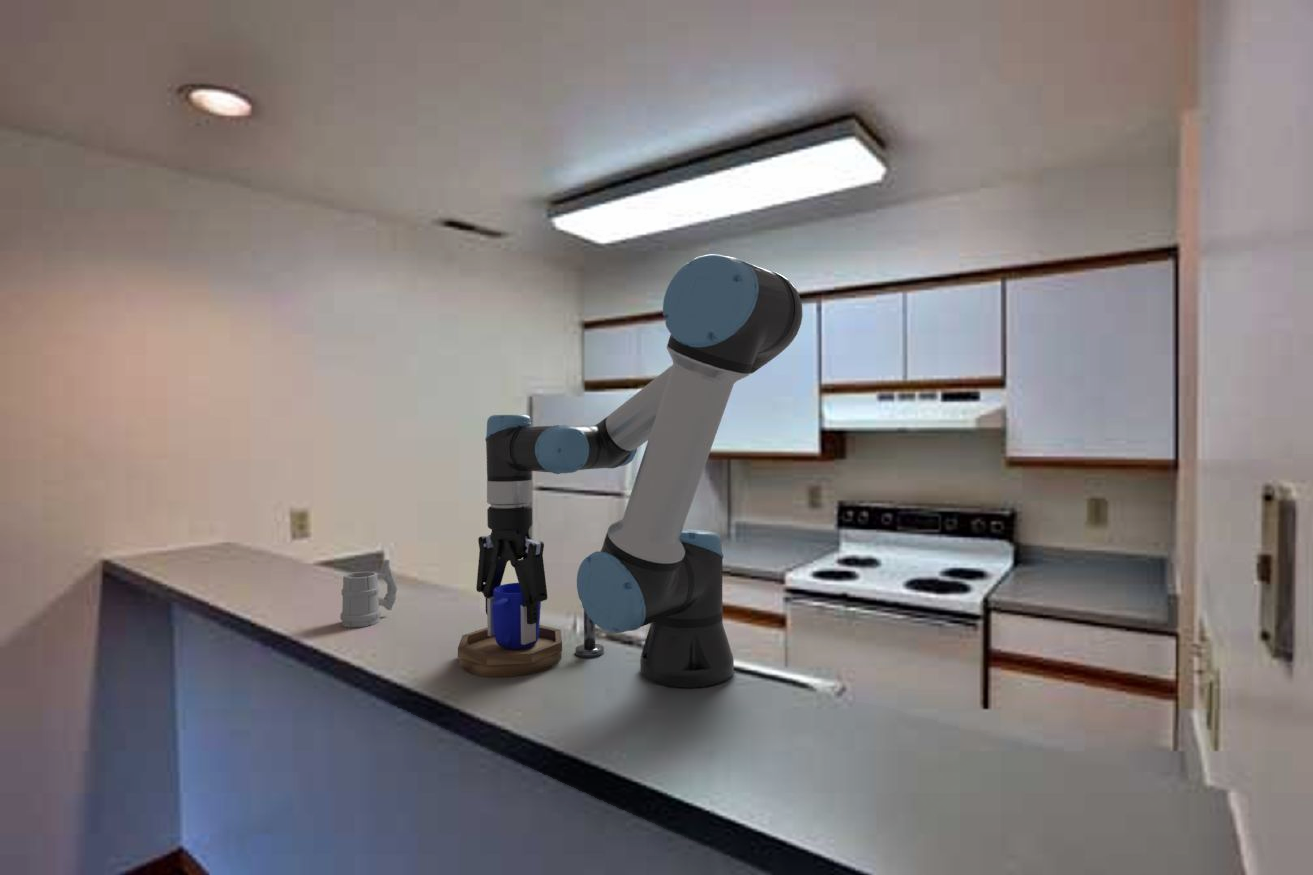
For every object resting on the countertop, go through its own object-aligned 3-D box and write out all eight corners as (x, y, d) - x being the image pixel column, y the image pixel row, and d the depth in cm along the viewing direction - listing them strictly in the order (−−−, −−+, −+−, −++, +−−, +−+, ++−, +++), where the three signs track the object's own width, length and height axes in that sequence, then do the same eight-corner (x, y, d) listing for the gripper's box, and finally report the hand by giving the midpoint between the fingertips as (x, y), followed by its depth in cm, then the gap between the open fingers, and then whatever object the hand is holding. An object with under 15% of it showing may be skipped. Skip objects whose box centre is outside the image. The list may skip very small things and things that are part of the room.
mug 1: (332, 623, 140) (331, 565, 140) (386, 611, 149) (385, 556, 149) (352, 630, 135) (351, 569, 135) (406, 616, 145) (405, 560, 145)
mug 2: (473, 658, 113) (472, 597, 113) (507, 636, 124) (507, 581, 124) (519, 662, 111) (518, 600, 110) (549, 639, 122) (549, 583, 122)
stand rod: (609, 651, 122) (609, 603, 122) (591, 659, 118) (590, 610, 118) (588, 646, 125) (587, 600, 125) (569, 653, 121) (569, 606, 120)
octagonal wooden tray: (581, 654, 120) (581, 634, 120) (508, 684, 106) (508, 662, 106) (514, 637, 130) (513, 619, 130) (438, 663, 116) (438, 642, 116)
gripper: (569, 506, 115) (570, 642, 115) (486, 499, 127) (488, 623, 127) (536, 511, 109) (538, 655, 109) (453, 503, 121) (454, 633, 121)
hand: (511, 637), depth 118 cm, fingers open, 7 cm apart
